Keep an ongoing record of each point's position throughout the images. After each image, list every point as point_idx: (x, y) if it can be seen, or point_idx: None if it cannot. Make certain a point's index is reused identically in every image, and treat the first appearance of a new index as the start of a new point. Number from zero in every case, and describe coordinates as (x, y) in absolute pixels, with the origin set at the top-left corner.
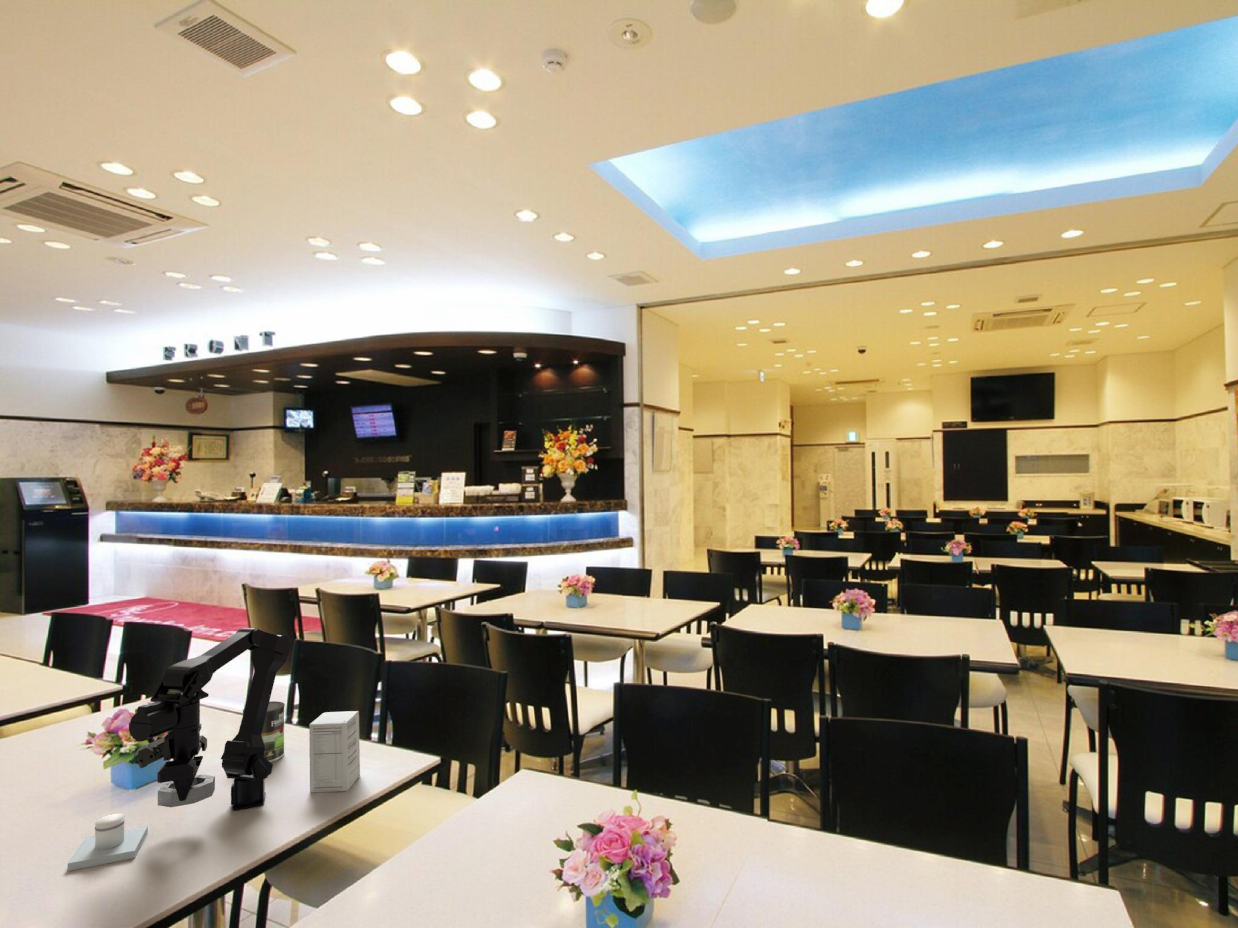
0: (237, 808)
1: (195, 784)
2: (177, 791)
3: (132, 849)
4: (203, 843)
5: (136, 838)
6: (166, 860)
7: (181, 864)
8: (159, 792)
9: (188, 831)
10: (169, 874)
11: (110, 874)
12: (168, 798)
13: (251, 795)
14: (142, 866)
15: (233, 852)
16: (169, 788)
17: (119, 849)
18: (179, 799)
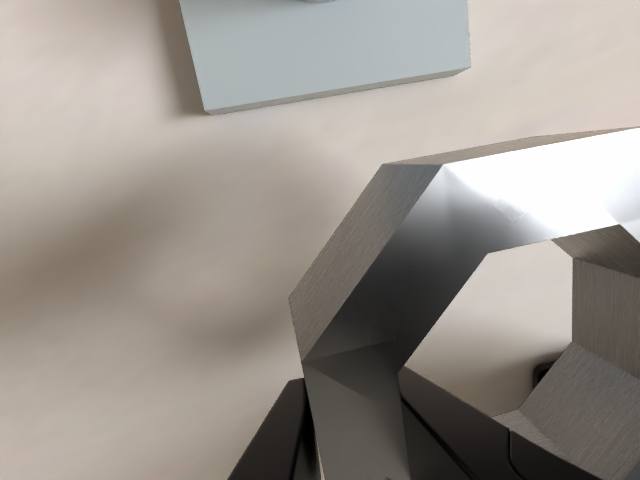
0: (535, 385)
1: (618, 358)
2: (247, 455)
3: (220, 93)
4: (277, 352)
5: (339, 64)
6: (161, 263)
7: (116, 333)
8: (414, 188)
9: None
10: (41, 319)
11: (73, 63)
12: (315, 296)
13: None
14: (126, 183)
15: (177, 476)
16: (464, 274)
17: (233, 20)
18: (286, 388)
